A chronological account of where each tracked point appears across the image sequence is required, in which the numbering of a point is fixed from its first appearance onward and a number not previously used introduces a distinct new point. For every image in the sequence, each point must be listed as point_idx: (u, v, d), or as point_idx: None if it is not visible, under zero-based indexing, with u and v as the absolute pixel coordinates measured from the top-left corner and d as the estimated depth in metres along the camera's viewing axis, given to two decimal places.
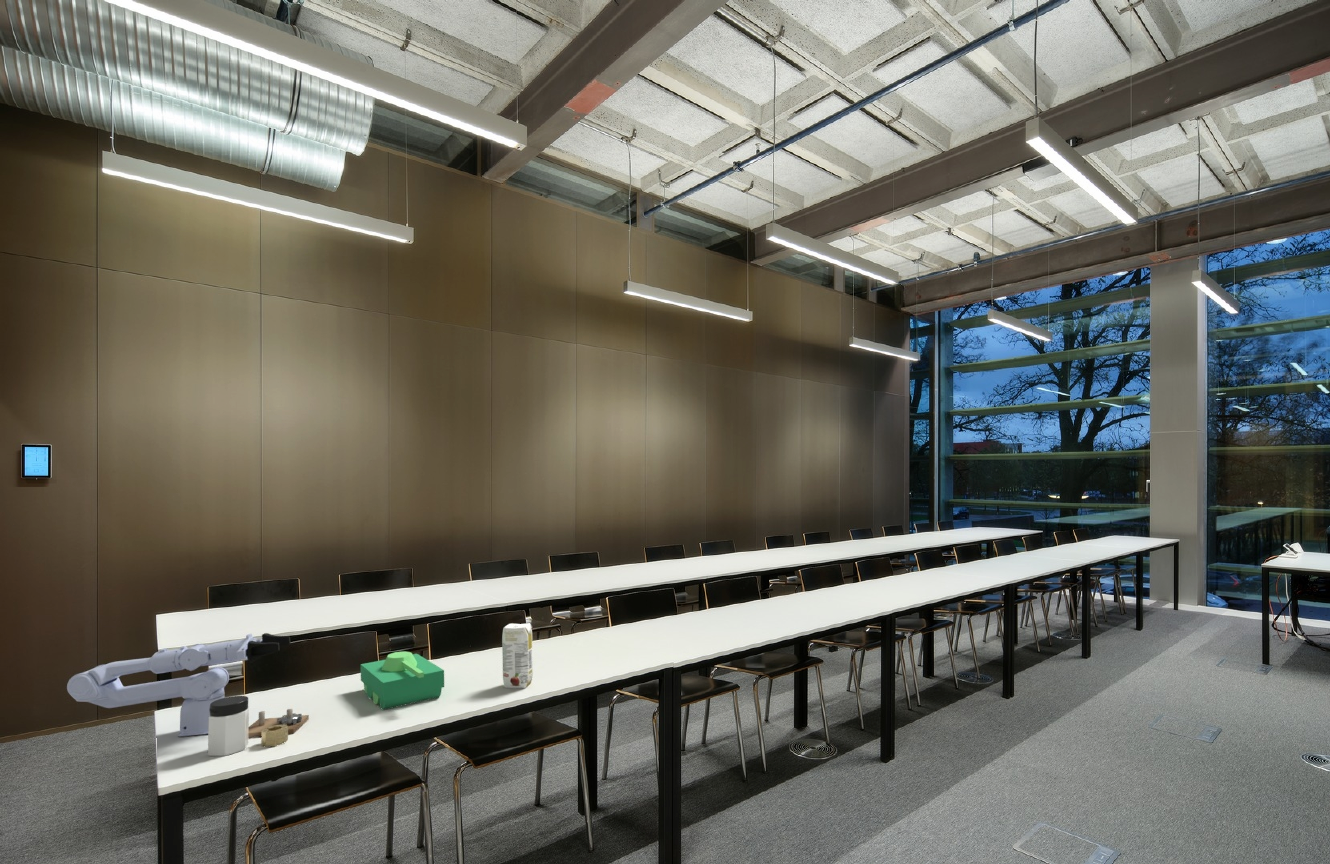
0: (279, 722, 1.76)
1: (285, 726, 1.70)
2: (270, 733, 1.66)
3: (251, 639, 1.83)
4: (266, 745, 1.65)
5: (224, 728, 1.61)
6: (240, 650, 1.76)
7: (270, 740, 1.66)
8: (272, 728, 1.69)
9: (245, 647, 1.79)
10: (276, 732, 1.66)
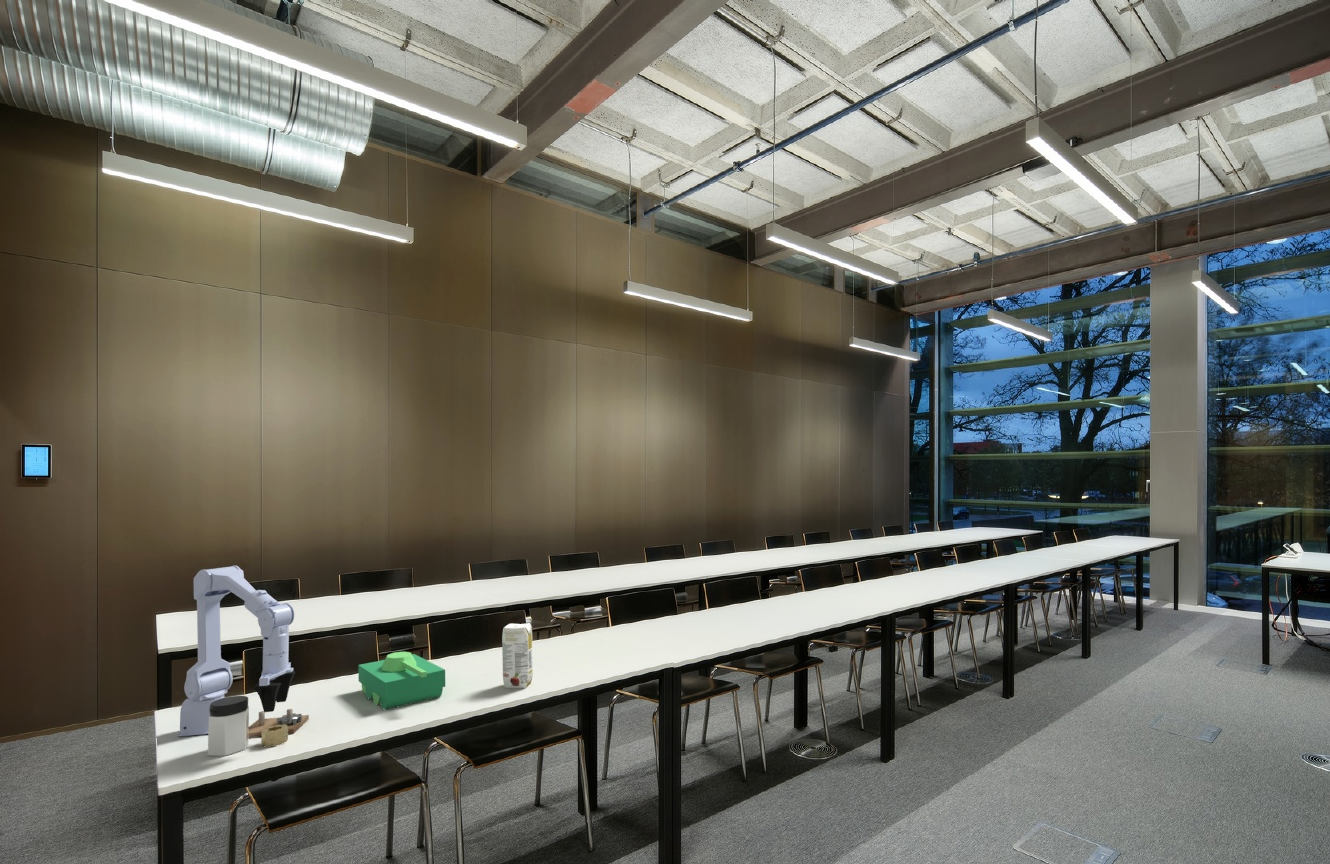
0: (279, 722, 1.76)
1: (285, 726, 1.70)
2: (270, 733, 1.66)
3: None
4: (266, 745, 1.65)
5: (224, 728, 1.61)
6: (269, 679, 1.63)
7: (270, 740, 1.66)
8: (272, 728, 1.69)
9: None
10: (276, 732, 1.66)
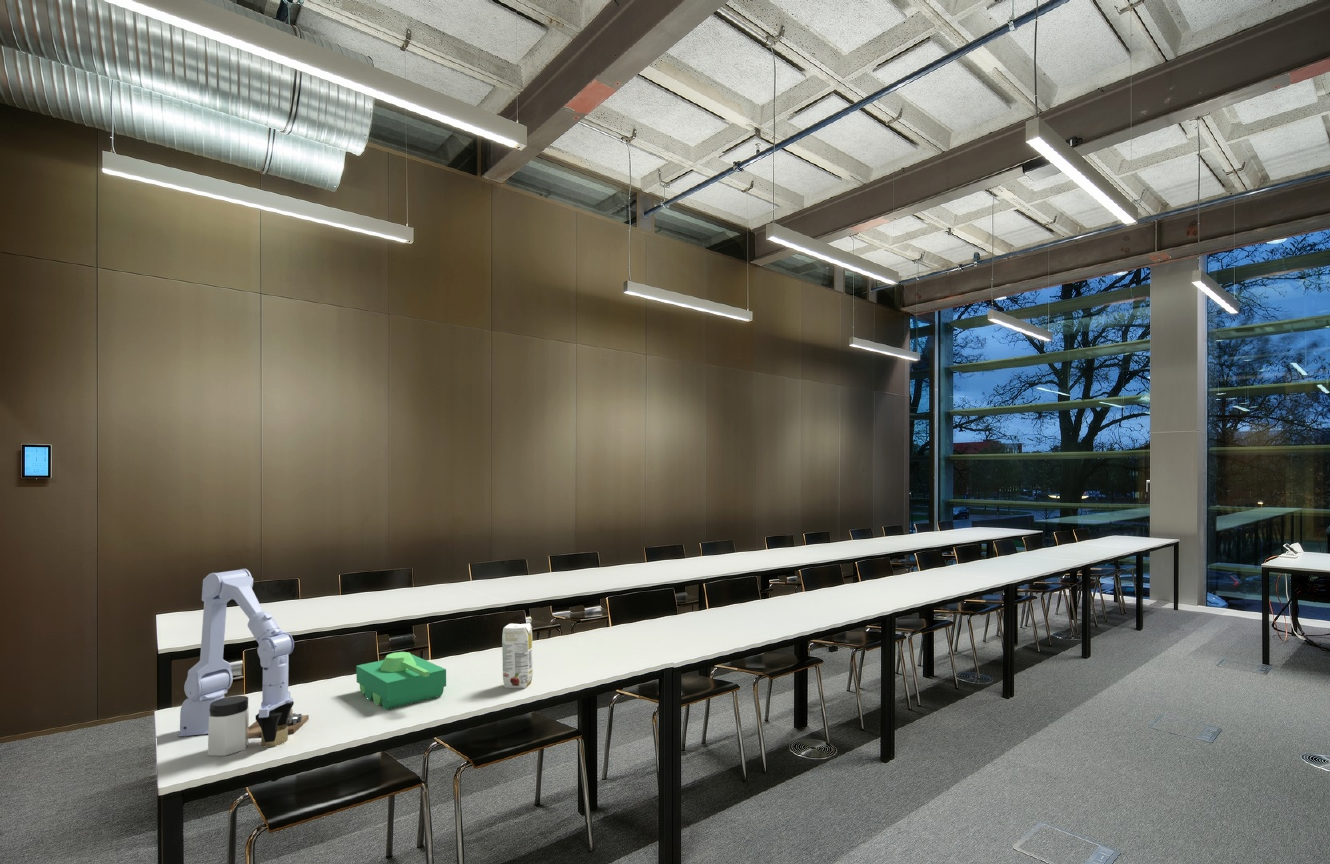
0: None
1: (285, 726, 1.70)
2: None
3: None
4: (266, 745, 1.65)
5: (224, 728, 1.61)
6: (268, 711, 1.63)
7: None
8: None
9: None
10: None
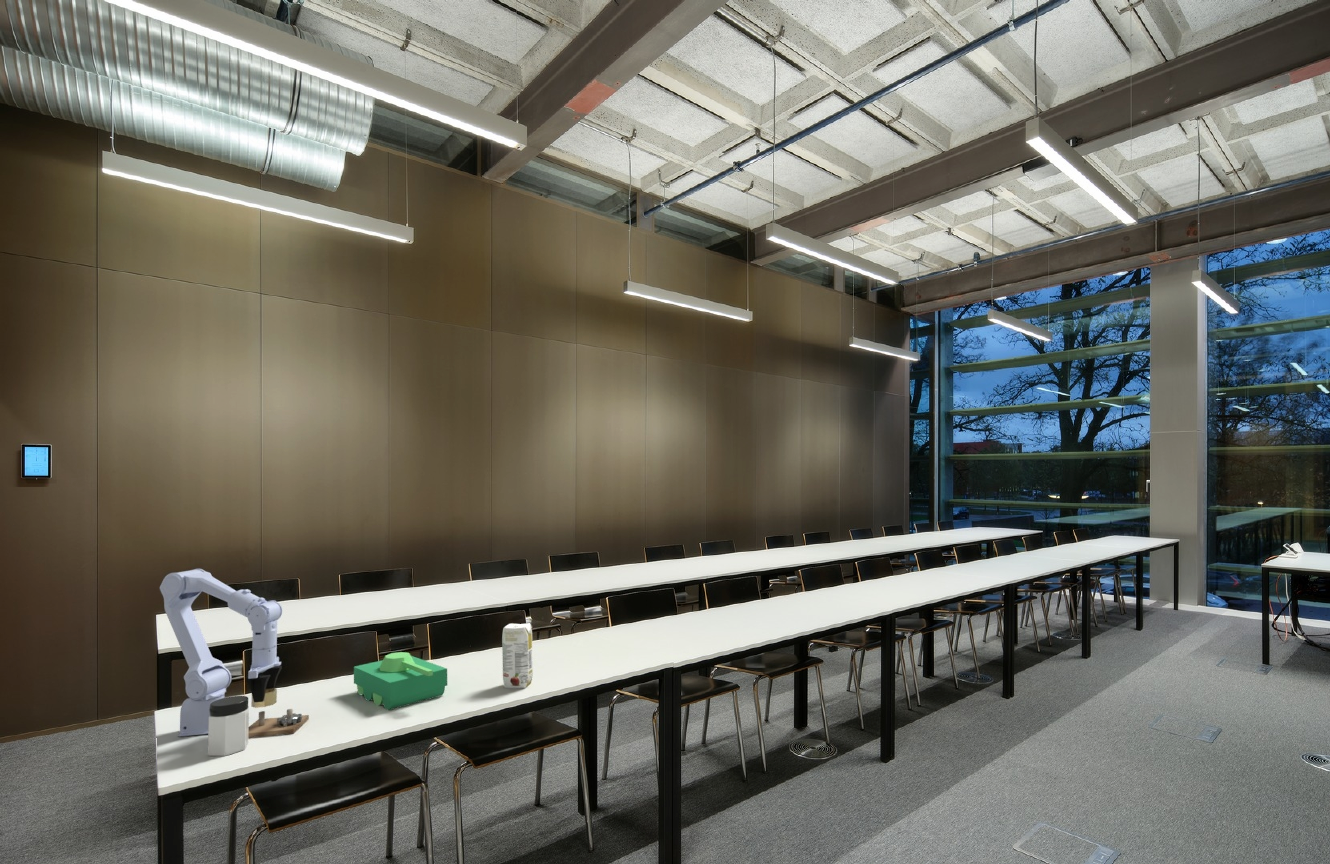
0: (279, 722, 1.76)
1: (274, 689, 1.80)
2: None
3: None
4: (256, 706, 1.75)
5: (224, 728, 1.61)
6: (257, 672, 1.73)
7: None
8: None
9: None
10: (265, 694, 1.76)
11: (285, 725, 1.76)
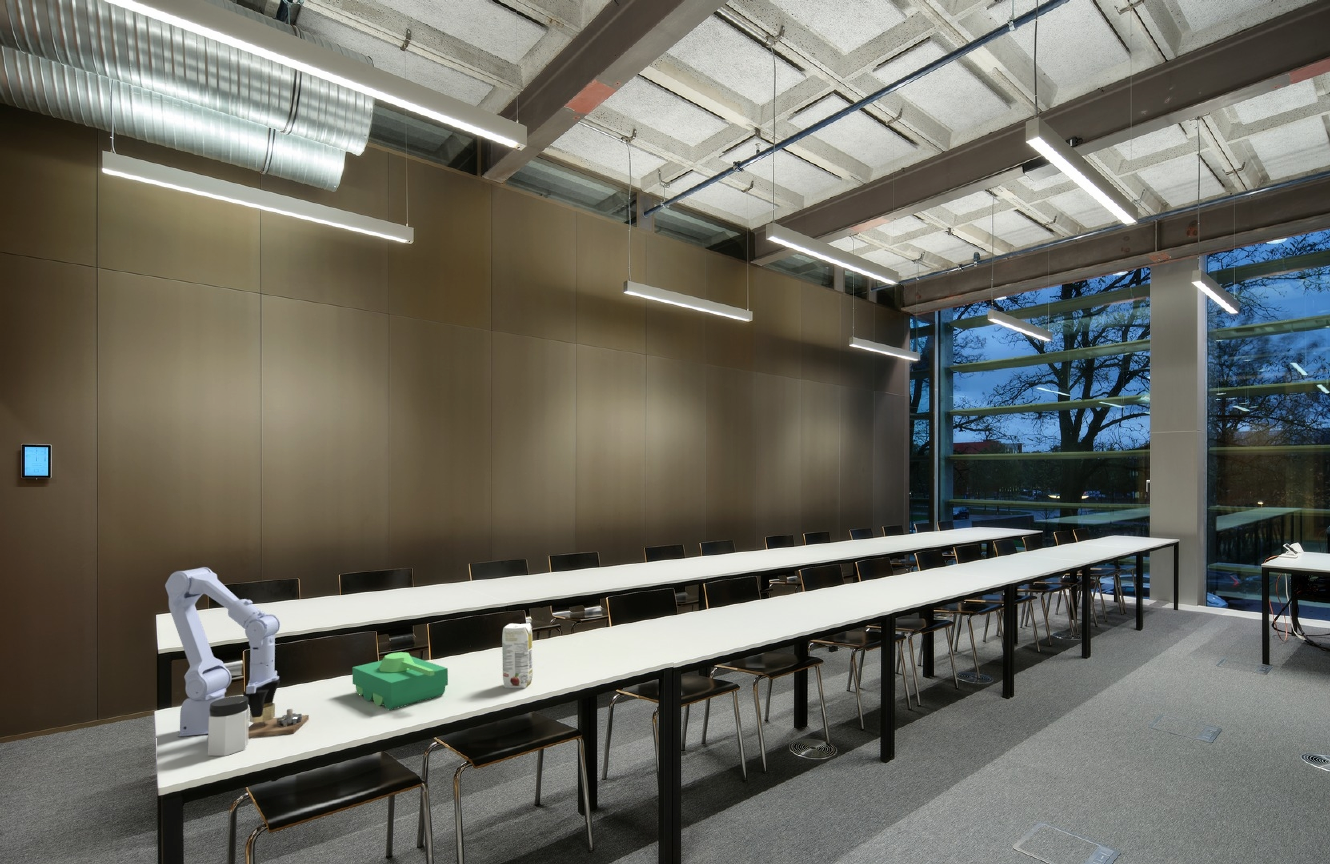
0: (279, 722, 1.76)
1: (272, 703, 1.79)
2: None
3: None
4: (254, 721, 1.75)
5: (224, 728, 1.61)
6: (255, 687, 1.72)
7: None
8: None
9: None
10: (263, 708, 1.76)
11: (285, 725, 1.76)
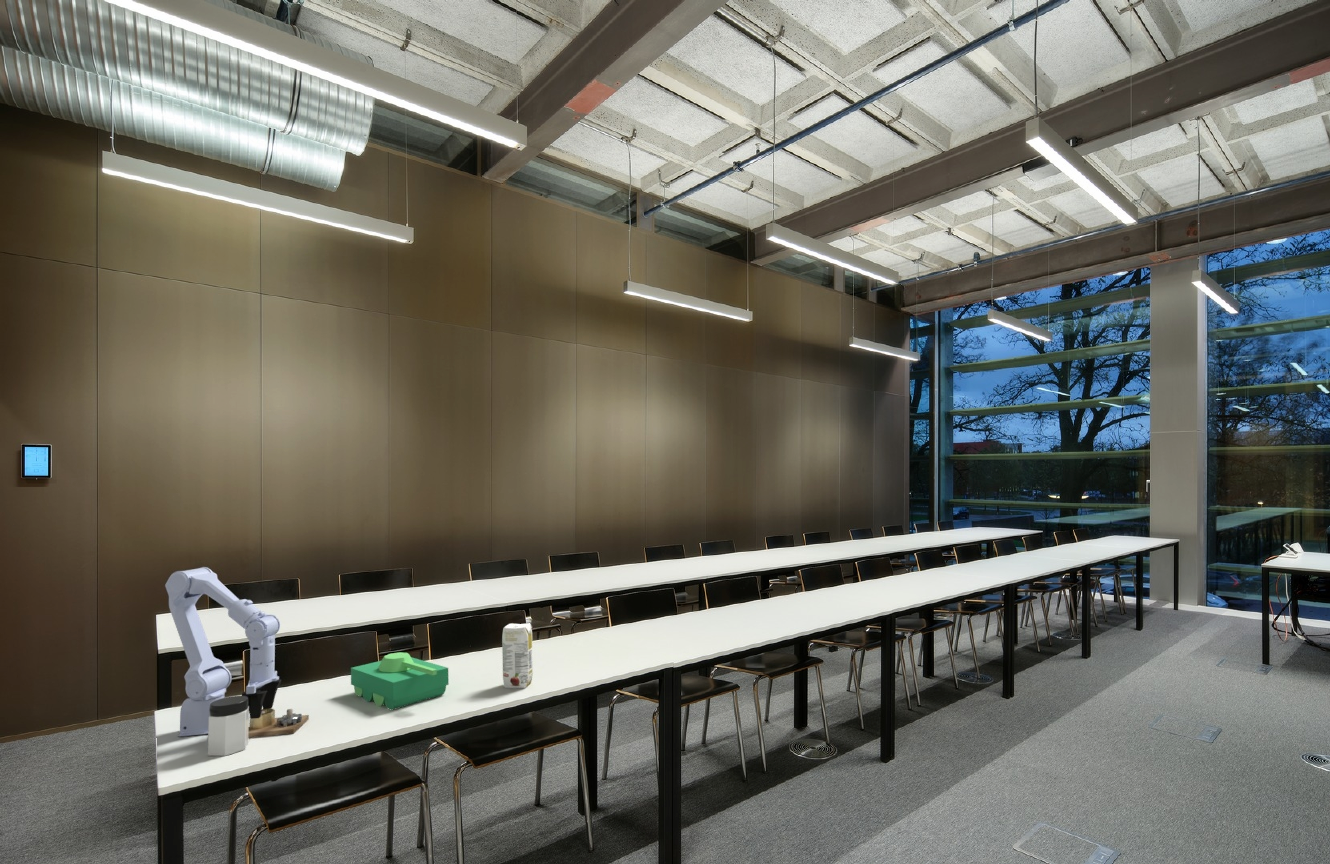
0: (279, 722, 1.76)
1: (272, 710, 1.79)
2: None
3: None
4: (254, 727, 1.75)
5: (224, 728, 1.61)
6: (255, 687, 1.72)
7: (258, 722, 1.75)
8: None
9: None
10: (263, 715, 1.76)
11: (285, 725, 1.76)
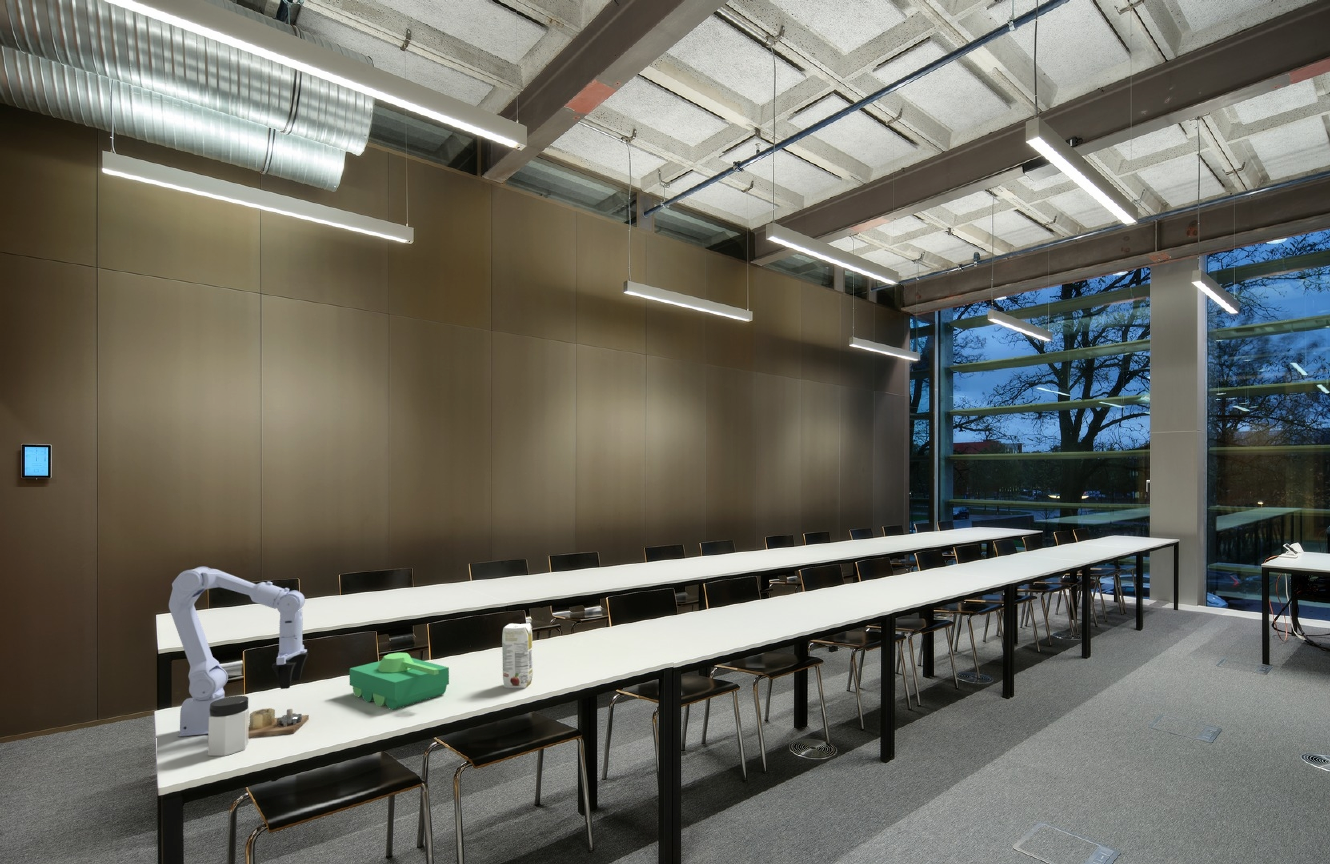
0: (279, 722, 1.76)
1: (272, 710, 1.79)
2: (257, 716, 1.75)
3: None
4: (254, 727, 1.75)
5: (224, 728, 1.61)
6: (285, 659, 1.80)
7: (258, 722, 1.75)
8: None
9: None
10: (263, 715, 1.76)
11: (285, 725, 1.76)
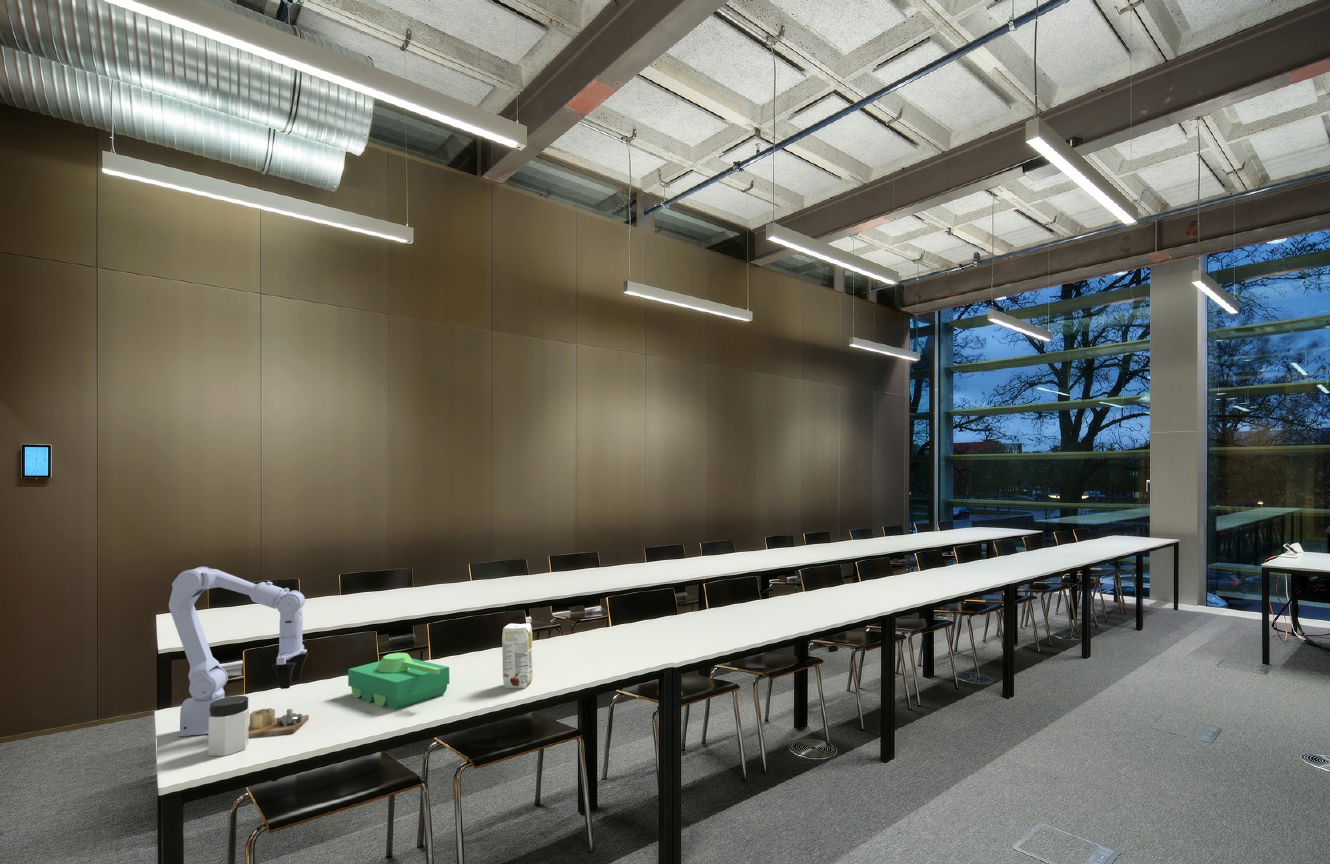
0: (279, 722, 1.76)
1: (272, 710, 1.79)
2: (257, 716, 1.75)
3: None
4: (254, 727, 1.75)
5: (224, 728, 1.61)
6: (285, 659, 1.80)
7: (258, 722, 1.75)
8: None
9: None
10: (263, 715, 1.76)
11: (285, 725, 1.76)
